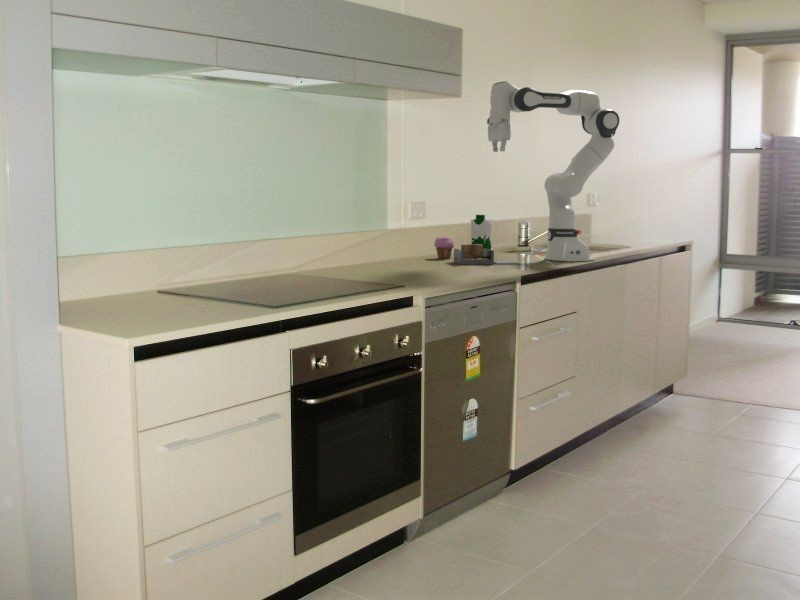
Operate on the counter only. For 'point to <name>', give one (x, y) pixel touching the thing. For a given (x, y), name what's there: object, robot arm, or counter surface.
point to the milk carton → (481, 231)
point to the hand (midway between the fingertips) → (498, 151)
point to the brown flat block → (472, 251)
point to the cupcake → (444, 247)
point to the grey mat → (505, 262)
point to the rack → (486, 254)
